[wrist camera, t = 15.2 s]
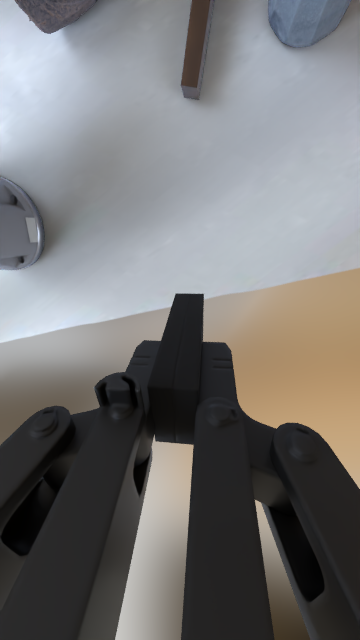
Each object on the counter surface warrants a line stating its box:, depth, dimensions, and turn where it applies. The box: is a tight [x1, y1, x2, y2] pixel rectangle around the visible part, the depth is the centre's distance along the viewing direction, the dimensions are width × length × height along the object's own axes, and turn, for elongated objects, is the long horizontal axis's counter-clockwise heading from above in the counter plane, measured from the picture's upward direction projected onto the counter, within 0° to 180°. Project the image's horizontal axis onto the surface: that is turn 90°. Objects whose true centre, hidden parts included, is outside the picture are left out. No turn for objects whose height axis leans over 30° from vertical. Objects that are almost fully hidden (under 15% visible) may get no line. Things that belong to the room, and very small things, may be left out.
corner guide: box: [181, 0, 214, 100], centre depth 24 cm, size 26×17×3 cm, turn 80°
